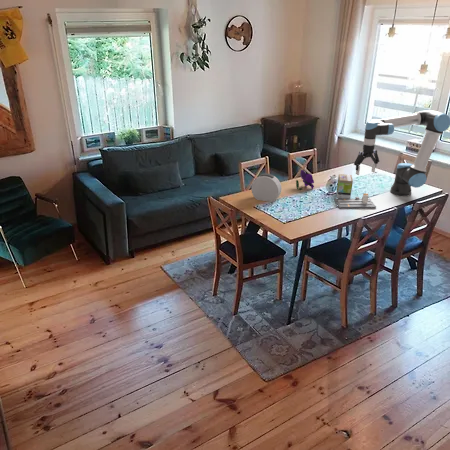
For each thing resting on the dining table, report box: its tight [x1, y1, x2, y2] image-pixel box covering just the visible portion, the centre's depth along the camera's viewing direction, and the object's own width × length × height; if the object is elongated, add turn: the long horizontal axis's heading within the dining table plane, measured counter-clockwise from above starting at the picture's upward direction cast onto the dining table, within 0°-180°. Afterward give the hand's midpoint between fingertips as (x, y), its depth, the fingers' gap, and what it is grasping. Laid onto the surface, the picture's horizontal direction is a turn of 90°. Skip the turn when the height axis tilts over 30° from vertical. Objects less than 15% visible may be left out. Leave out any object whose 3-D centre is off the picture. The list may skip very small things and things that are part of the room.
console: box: [334, 196, 377, 210], centre depth 307 cm, size 26×15×3 cm, turn 89°
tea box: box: [336, 173, 354, 199], centre depth 321 cm, size 15×10×15 cm, turn 168°
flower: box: [295, 169, 315, 191], centre depth 335 cm, size 15×15×14 cm
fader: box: [361, 193, 369, 203], centre depth 306 cm, size 3×3×7 cm
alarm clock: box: [251, 173, 283, 203], centre depth 314 cm, size 21×8×20 cm, turn 65°
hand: (365, 173), depth 302 cm, fingers open, 13 cm apart
